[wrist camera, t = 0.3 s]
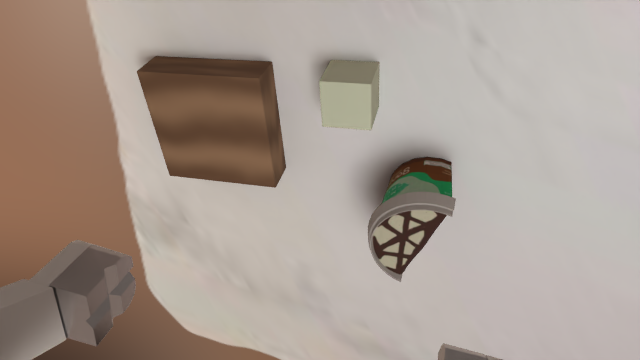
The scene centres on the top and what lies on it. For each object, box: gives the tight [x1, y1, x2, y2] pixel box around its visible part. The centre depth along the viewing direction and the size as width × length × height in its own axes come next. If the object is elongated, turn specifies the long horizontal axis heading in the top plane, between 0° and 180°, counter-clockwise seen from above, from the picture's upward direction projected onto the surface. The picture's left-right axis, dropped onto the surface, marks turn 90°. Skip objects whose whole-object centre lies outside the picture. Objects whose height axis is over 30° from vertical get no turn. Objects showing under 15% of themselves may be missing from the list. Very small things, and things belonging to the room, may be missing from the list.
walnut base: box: [137, 56, 286, 187], centre depth 56 cm, size 14×14×4 cm
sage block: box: [319, 60, 379, 130], centre depth 49 cm, size 5×5×5 cm
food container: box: [368, 157, 456, 282], centre depth 52 cm, size 12×6×10 cm, turn 161°
